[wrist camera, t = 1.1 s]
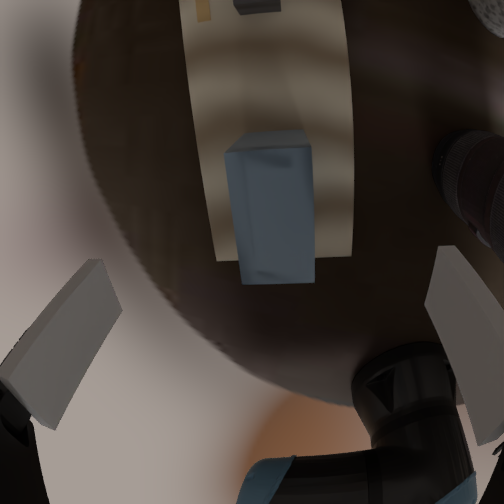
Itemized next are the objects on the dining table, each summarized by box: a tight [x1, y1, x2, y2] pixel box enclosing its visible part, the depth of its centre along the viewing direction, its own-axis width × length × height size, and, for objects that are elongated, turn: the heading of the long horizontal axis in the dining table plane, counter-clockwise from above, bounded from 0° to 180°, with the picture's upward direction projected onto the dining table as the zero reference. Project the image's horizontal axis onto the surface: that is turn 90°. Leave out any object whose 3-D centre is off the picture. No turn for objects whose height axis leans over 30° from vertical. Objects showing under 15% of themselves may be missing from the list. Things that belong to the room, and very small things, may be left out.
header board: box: [179, 0, 354, 261], centre depth 16 cm, size 34×12×9 cm, turn 6°
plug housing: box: [224, 129, 315, 285], centre depth 20 cm, size 8×4×8 cm, turn 6°
